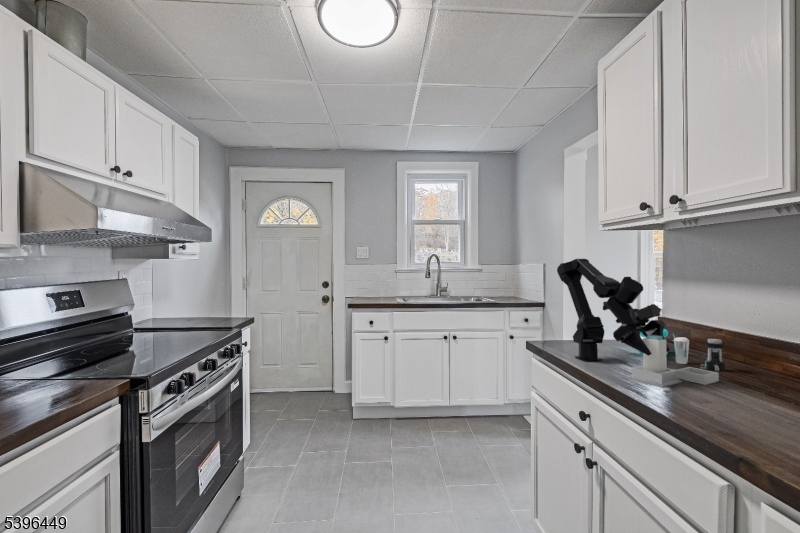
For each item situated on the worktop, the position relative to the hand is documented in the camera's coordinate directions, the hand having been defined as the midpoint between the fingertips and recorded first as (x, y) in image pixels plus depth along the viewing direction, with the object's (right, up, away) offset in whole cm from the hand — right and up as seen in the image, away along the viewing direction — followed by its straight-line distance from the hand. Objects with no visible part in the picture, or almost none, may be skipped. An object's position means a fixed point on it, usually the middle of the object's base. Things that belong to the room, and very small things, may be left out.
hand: (659, 353), depth 119 cm
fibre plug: (-1, -8, +1) cm, 8 cm away
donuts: (+21, -8, +36) cm, 43 cm away
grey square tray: (+13, -8, +2) cm, 15 cm away
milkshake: (+22, -8, +22) cm, 32 cm away
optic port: (-1, -9, +1) cm, 9 cm away
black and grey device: (+26, -8, +13) cm, 30 cm away
